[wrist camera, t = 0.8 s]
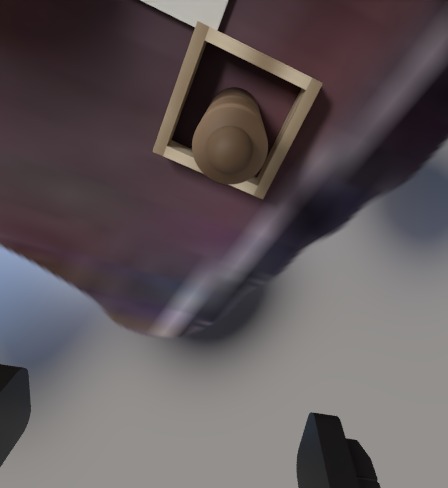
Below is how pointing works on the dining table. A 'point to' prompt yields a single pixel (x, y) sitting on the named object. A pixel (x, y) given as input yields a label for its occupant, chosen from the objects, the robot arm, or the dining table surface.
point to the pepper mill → (230, 138)
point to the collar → (307, 84)
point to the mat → (193, 10)
